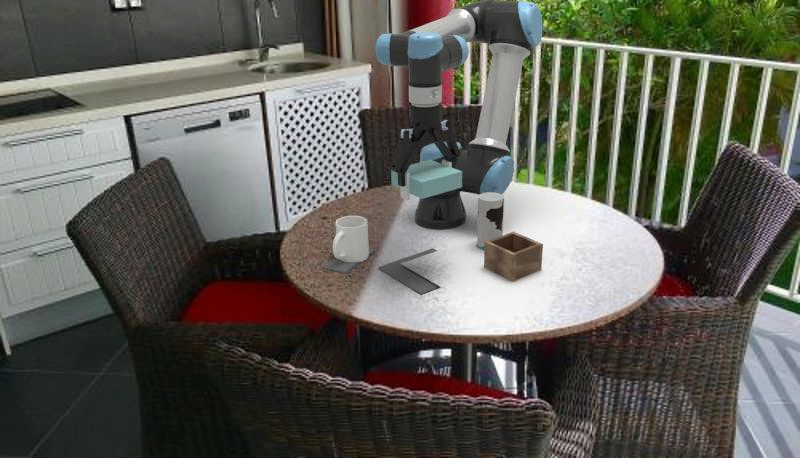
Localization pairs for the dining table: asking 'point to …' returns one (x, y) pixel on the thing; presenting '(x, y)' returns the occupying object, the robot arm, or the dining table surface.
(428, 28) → the robot arm
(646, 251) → the dining table surface
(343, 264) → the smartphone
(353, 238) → the mug
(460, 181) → the lid
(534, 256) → the box
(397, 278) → the mat
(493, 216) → the printed grey cylinder
